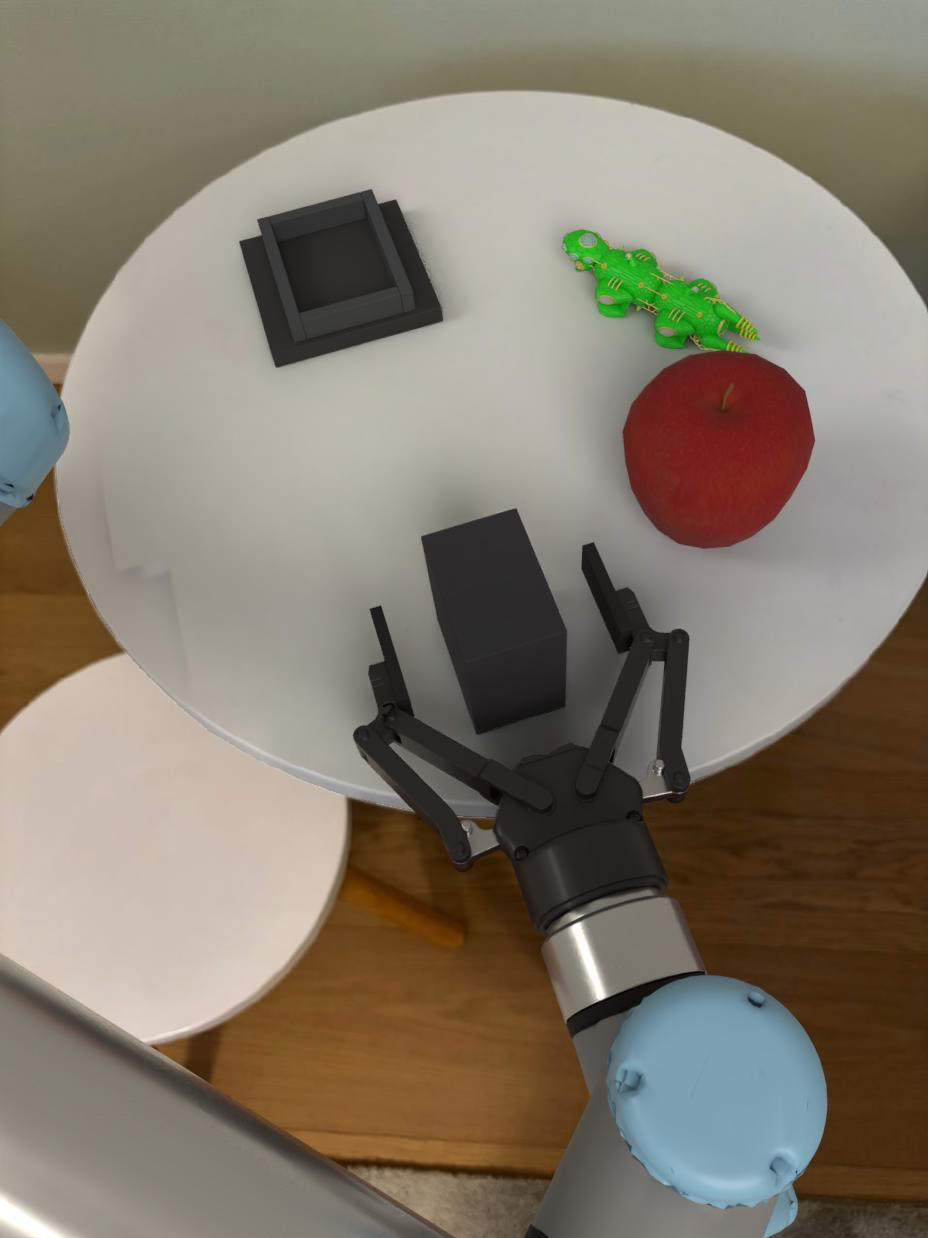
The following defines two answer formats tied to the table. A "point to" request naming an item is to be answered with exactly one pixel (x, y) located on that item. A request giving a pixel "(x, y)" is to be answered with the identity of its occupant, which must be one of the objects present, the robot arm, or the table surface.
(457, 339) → the table surface
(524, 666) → the pad block
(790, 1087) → the robot arm
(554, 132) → the table surface
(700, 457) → the apple
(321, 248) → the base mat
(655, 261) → the crocodile figurine
